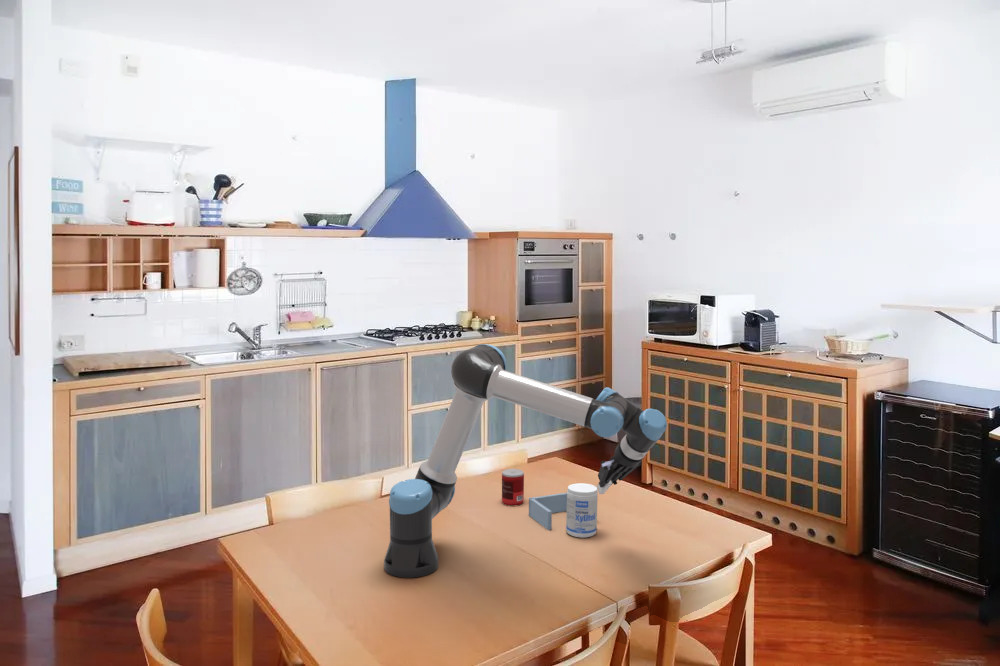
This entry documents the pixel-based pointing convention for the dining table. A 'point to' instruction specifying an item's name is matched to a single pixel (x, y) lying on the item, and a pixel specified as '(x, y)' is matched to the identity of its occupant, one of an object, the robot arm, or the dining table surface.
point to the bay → (547, 508)
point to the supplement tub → (581, 510)
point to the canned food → (512, 487)
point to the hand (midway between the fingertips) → (600, 490)
